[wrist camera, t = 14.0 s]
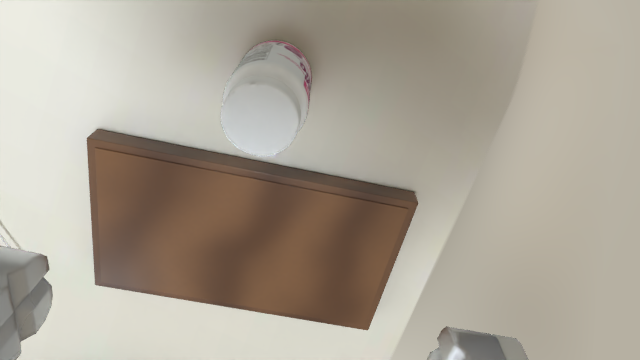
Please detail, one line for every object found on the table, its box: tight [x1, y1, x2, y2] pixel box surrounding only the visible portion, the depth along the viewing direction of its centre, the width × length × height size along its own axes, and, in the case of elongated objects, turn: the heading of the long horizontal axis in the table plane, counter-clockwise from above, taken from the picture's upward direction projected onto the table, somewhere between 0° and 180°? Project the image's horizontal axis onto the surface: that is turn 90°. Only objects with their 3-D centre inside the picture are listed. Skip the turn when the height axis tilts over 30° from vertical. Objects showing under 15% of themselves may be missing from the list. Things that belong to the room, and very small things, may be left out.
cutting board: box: [87, 129, 418, 330], centre depth 35 cm, size 24×14×2 cm, turn 78°
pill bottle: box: [221, 40, 312, 156], centre depth 25 cm, size 5×5×8 cm
